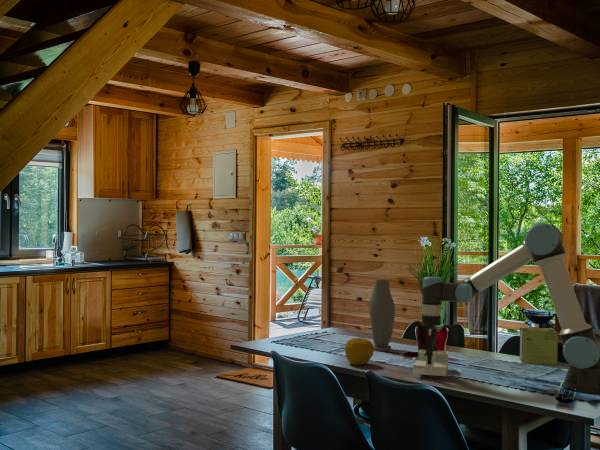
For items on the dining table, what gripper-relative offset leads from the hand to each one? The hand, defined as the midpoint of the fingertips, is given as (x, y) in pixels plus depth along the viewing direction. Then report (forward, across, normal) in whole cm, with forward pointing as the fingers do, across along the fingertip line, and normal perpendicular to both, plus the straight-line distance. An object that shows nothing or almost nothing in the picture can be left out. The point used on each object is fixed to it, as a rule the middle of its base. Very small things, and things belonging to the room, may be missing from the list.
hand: (430, 369), depth 259 cm
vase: (+3, +58, +29) cm, 65 cm away
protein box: (+3, +52, -45) cm, 69 cm away
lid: (-1, 0, 0) cm, 1 cm away
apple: (+3, +14, +32) cm, 35 cm away
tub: (+3, +15, 0) cm, 15 cm away
